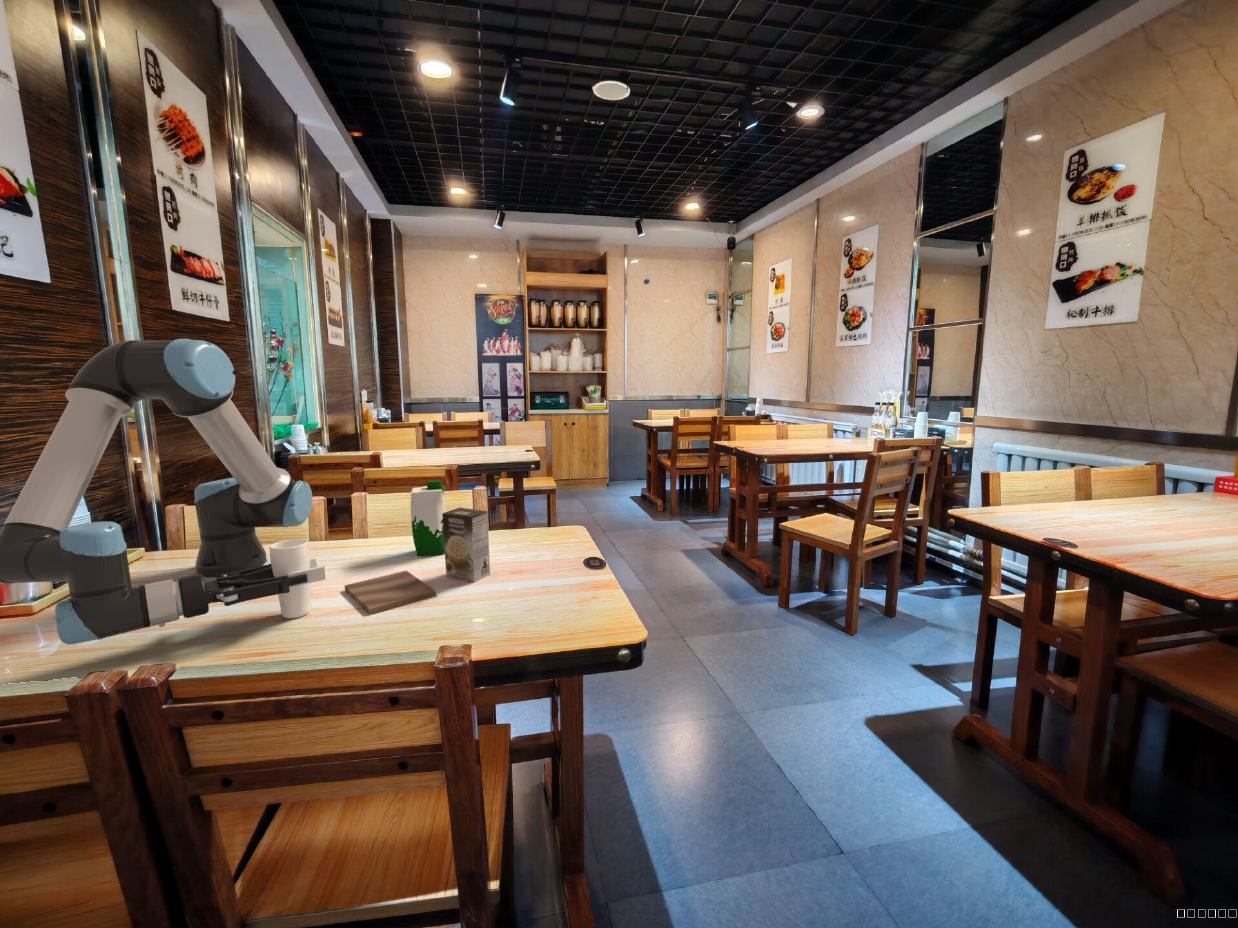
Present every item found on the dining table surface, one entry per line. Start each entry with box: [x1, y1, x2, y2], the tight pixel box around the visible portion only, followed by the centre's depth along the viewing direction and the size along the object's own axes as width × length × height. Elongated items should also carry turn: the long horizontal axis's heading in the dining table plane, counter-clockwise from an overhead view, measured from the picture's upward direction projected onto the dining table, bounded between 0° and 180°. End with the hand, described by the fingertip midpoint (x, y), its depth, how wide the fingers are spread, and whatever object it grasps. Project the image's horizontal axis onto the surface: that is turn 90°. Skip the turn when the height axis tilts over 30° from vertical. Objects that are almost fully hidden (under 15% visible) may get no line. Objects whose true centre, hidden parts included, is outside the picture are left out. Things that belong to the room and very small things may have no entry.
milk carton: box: [410, 479, 447, 558], centre depth 149 cm, size 9×9×20 cm
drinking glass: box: [269, 538, 312, 619], centre depth 110 cm, size 7×7×15 cm
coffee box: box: [442, 507, 491, 583], centre depth 130 cm, size 9×6×16 cm
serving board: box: [344, 570, 437, 615], centre depth 121 cm, size 18×14×1 cm
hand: (320, 568), depth 113 cm, fingers closed on drinking glass, 6 cm apart
